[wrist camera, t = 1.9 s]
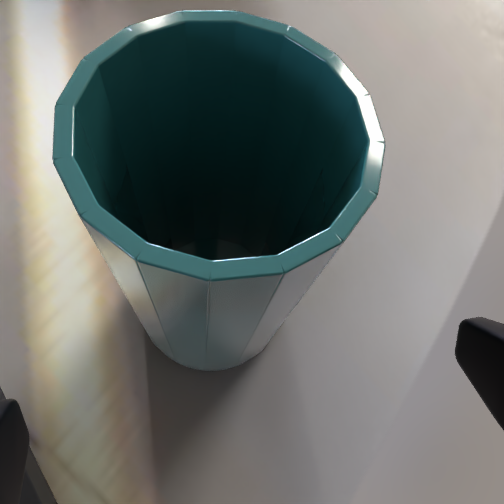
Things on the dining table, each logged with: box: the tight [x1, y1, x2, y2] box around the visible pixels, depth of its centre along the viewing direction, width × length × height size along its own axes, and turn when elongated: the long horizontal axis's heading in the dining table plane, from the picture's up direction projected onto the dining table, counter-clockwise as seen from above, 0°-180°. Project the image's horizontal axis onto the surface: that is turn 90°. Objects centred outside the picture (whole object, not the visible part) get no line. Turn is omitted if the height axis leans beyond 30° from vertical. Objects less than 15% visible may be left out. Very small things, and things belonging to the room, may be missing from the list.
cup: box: [52, 10, 385, 371], centre depth 15 cm, size 7×7×13 cm
